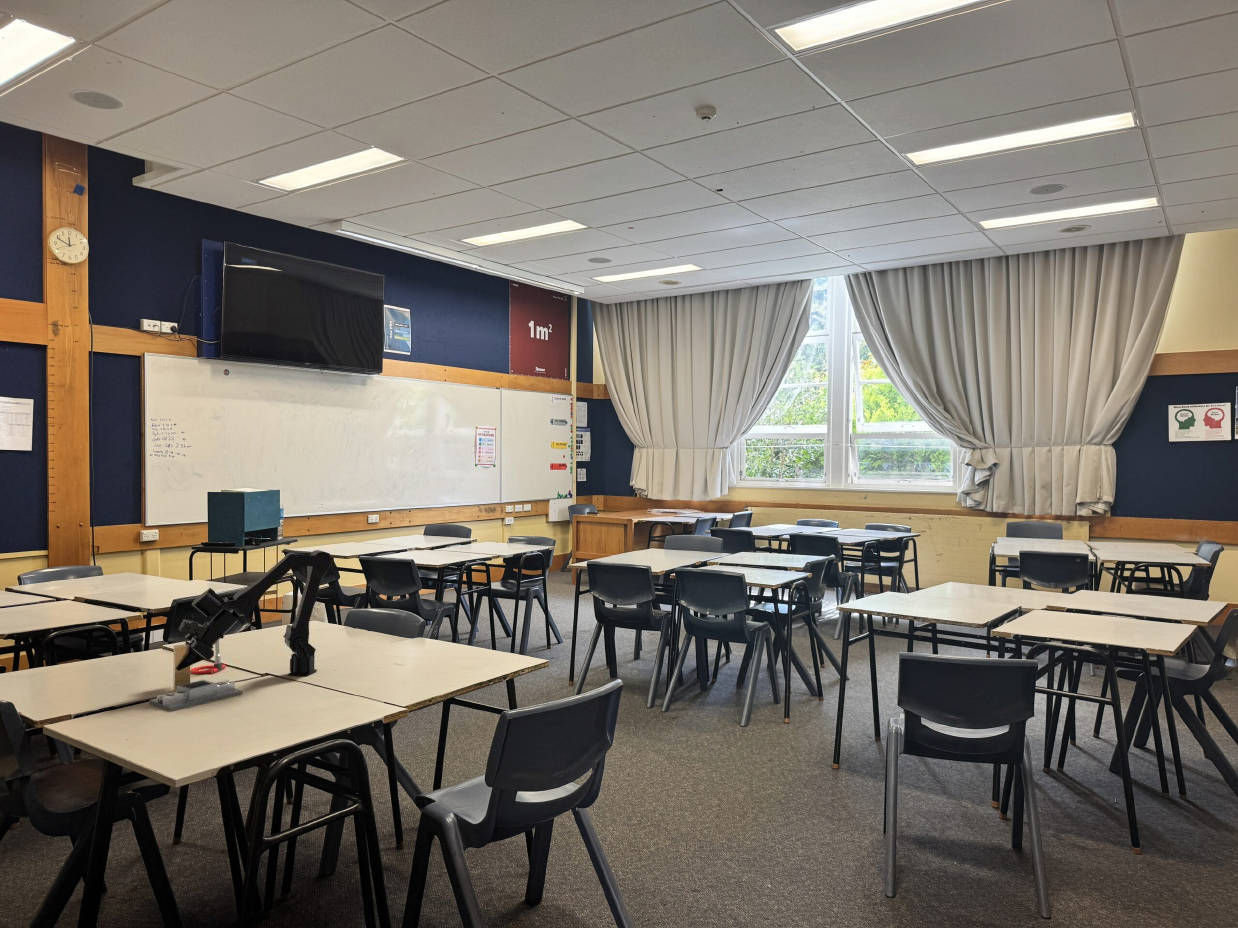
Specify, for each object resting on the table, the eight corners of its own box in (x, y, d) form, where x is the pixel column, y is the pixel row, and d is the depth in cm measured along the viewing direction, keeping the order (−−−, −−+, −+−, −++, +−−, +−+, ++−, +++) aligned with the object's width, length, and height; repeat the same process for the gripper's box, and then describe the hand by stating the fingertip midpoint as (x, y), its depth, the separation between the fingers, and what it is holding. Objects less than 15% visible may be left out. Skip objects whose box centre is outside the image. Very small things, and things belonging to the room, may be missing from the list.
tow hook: (184, 675, 250) (213, 674, 249) (183, 634, 250) (211, 633, 249) (200, 668, 258) (227, 668, 257) (198, 629, 258) (226, 628, 258)
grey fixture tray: (220, 687, 235) (220, 673, 235) (242, 693, 228) (242, 680, 228) (149, 703, 219) (149, 689, 219) (171, 711, 212) (171, 696, 212)
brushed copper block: (188, 687, 234) (189, 643, 234) (190, 690, 231) (190, 646, 232) (173, 689, 232) (173, 645, 232) (174, 692, 229) (174, 647, 229)
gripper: (193, 604, 242) (151, 645, 235) (201, 614, 226) (156, 657, 220) (221, 627, 246) (181, 667, 240) (231, 638, 231) (188, 681, 225)
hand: (176, 668), depth 231 cm, fingers closed on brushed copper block, 3 cm apart
